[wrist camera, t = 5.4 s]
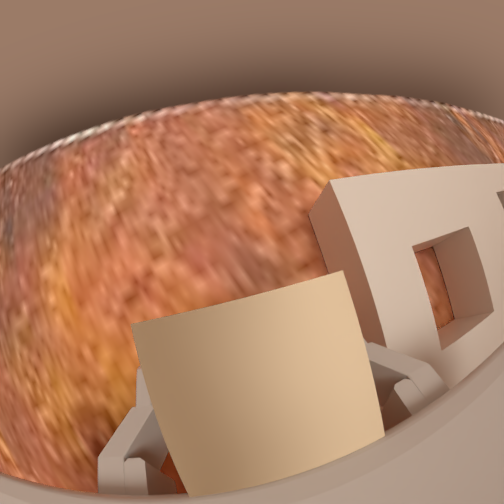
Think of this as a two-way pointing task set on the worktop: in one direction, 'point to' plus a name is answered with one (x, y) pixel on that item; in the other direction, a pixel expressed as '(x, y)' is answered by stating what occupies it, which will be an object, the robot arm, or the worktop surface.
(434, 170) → the socket board
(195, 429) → the square peg
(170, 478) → the robot arm
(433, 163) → the worktop surface
